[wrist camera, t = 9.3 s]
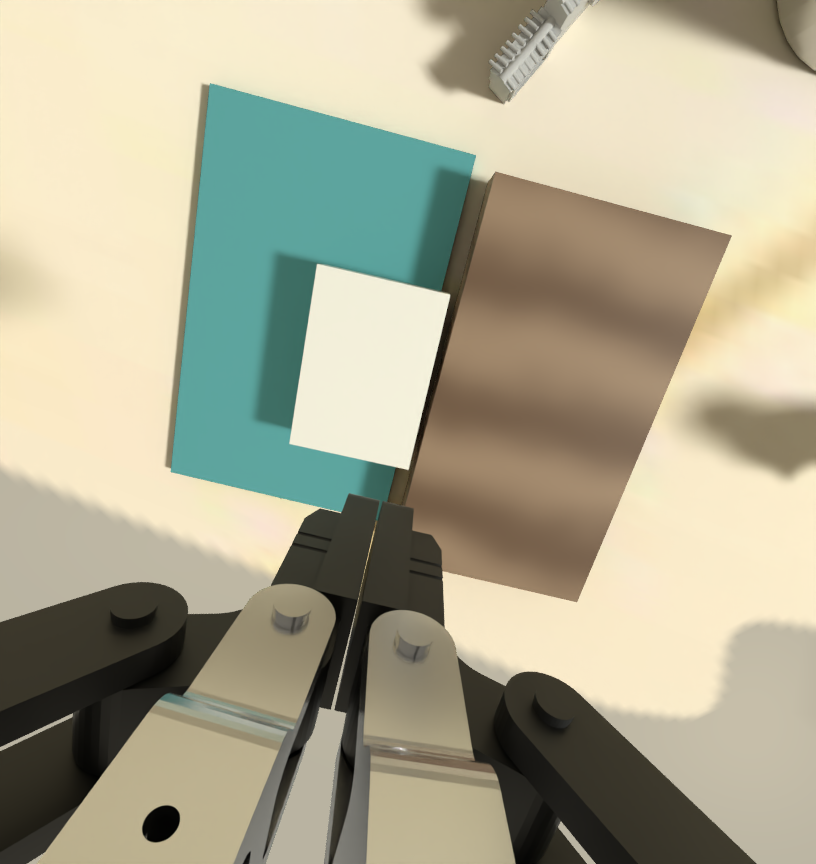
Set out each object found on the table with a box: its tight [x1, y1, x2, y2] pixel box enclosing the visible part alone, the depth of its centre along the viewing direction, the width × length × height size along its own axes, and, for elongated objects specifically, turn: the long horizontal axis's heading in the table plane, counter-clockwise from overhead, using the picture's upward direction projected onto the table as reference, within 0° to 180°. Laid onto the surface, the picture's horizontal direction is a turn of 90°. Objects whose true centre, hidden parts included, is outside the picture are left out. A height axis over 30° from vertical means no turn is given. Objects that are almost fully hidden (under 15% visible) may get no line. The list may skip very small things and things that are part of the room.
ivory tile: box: [289, 264, 450, 470], centre depth 28 cm, size 10×7×2 cm
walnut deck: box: [402, 172, 731, 602], centre depth 29 cm, size 22×12×3 cm, turn 166°
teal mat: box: [171, 83, 476, 521], centre depth 29 cm, size 22×14×1 cm, turn 166°
